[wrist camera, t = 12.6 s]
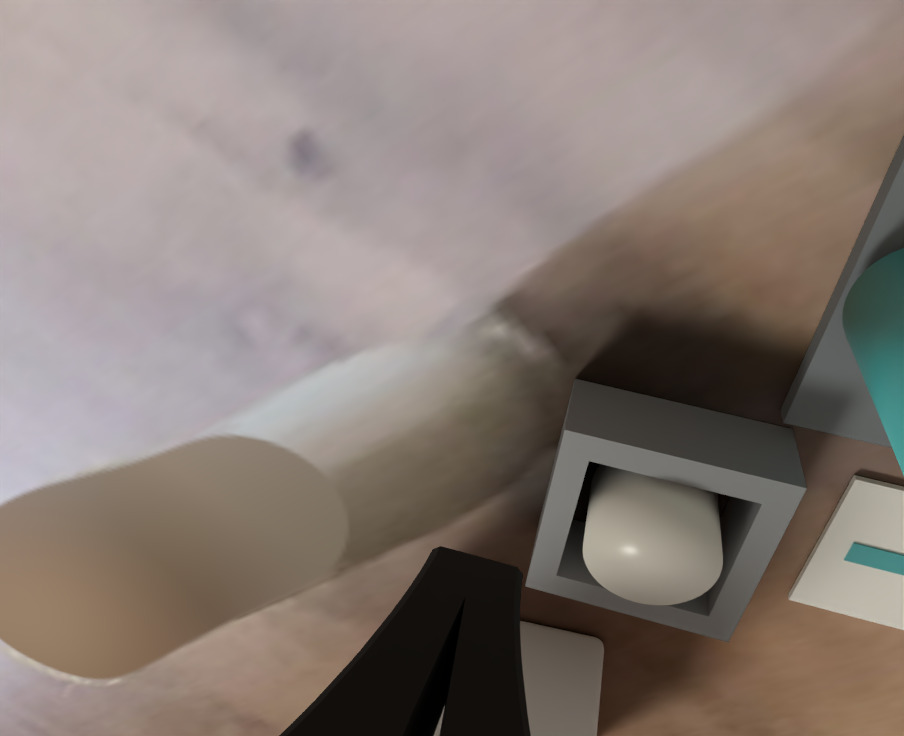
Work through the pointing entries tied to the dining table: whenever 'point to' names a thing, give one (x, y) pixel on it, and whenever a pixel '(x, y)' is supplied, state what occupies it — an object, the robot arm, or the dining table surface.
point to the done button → (651, 537)
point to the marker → (880, 340)
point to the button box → (681, 461)
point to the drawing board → (829, 354)
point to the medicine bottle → (559, 681)
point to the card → (859, 556)
